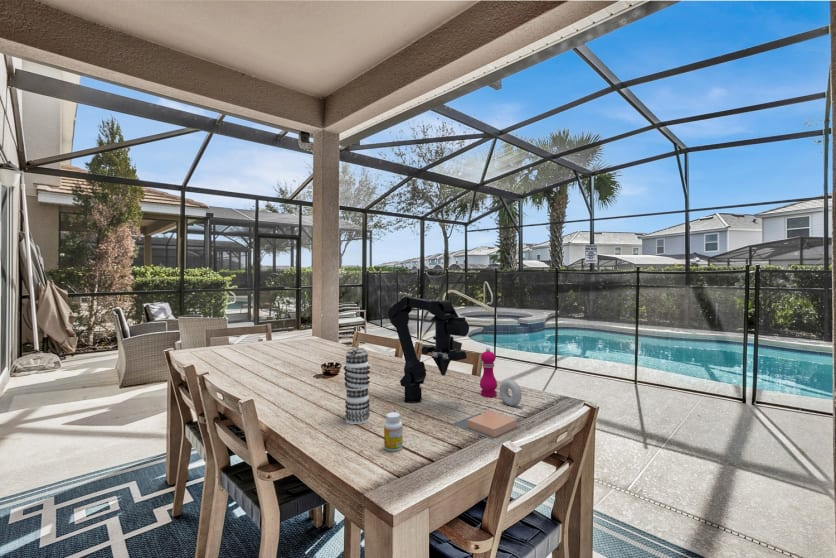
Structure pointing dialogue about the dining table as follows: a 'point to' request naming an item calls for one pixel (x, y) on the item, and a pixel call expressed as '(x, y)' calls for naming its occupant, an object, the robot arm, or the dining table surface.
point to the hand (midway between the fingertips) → (443, 375)
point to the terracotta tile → (492, 423)
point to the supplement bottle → (393, 432)
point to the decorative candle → (357, 386)
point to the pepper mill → (488, 374)
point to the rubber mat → (464, 425)
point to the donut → (515, 392)
